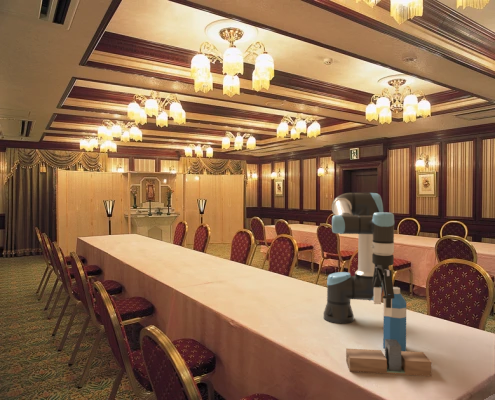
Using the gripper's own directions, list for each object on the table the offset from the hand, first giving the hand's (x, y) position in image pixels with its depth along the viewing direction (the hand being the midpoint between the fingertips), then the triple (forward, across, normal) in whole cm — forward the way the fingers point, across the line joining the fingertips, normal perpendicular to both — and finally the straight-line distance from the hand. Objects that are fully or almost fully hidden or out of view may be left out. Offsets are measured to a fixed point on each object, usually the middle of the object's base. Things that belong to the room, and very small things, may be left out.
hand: (382, 309), depth 136 cm
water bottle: (+21, -14, +9) cm, 27 cm away
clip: (+20, +4, +3) cm, 20 cm away
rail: (+20, +5, +1) cm, 21 cm away
